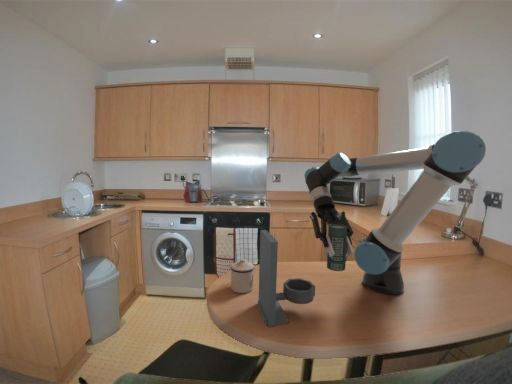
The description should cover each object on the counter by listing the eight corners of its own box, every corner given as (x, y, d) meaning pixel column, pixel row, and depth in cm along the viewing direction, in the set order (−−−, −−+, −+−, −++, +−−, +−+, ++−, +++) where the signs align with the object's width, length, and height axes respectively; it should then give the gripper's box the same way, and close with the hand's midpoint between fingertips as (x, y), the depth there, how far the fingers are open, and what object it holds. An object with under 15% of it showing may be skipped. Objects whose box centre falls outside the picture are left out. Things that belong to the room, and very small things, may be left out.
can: (344, 265, 96) (345, 224, 95) (345, 271, 90) (347, 228, 89) (326, 263, 98) (328, 223, 96) (327, 270, 92) (329, 227, 90)
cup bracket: (303, 298, 96) (306, 228, 93) (320, 321, 82) (325, 240, 80) (257, 302, 92) (258, 230, 90) (266, 327, 79) (269, 242, 76)
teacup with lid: (255, 293, 99) (256, 263, 98) (231, 294, 98) (232, 264, 96) (250, 279, 111) (250, 252, 110) (228, 280, 109) (228, 253, 108)
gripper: (341, 206, 109) (362, 258, 95) (296, 206, 105) (311, 261, 91) (348, 194, 103) (372, 248, 89) (301, 195, 99) (319, 251, 85)
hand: (341, 254), depth 90 cm, fingers closed on can, 6 cm apart
